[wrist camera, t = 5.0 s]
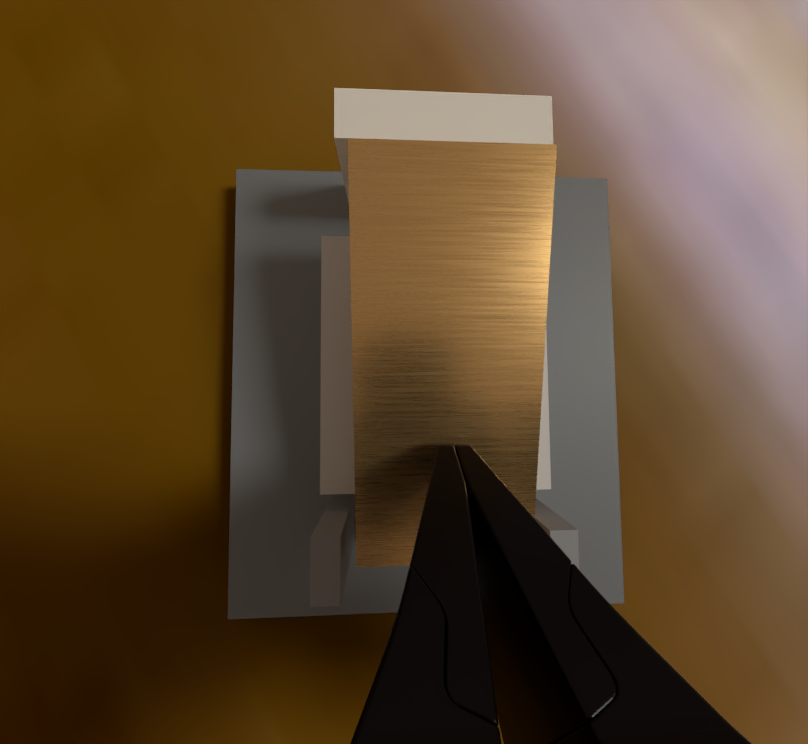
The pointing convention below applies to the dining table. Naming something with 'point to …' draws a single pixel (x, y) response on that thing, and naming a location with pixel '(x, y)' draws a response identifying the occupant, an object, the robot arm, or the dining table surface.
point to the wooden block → (444, 321)
